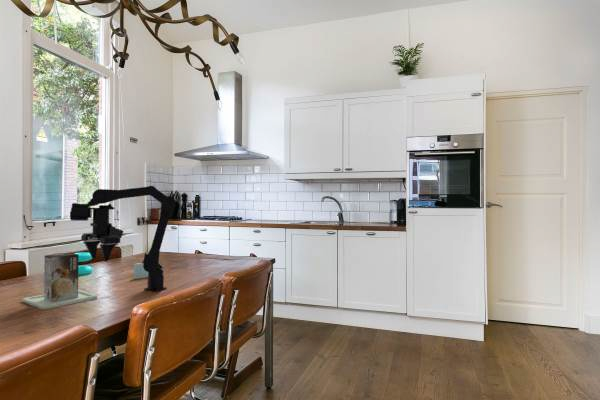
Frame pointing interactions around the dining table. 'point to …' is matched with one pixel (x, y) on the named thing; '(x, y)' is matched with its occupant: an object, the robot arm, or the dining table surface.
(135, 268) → the right angle wall
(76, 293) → the coffee box
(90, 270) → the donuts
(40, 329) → the dining table surface
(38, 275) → the dining table surface
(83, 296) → the sage tray
